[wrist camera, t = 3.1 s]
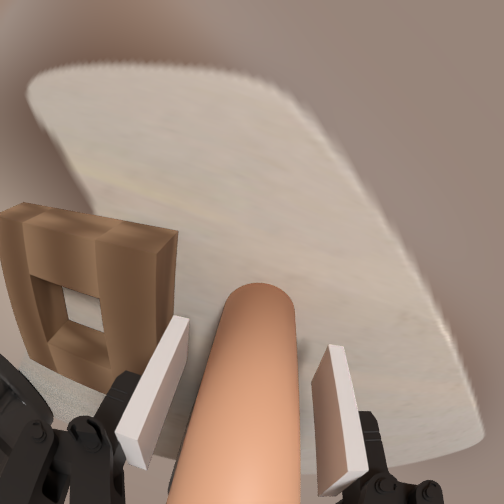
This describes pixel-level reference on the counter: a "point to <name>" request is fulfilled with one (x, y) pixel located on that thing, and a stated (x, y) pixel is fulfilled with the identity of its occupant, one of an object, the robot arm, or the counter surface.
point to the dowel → (246, 408)
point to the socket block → (88, 289)
